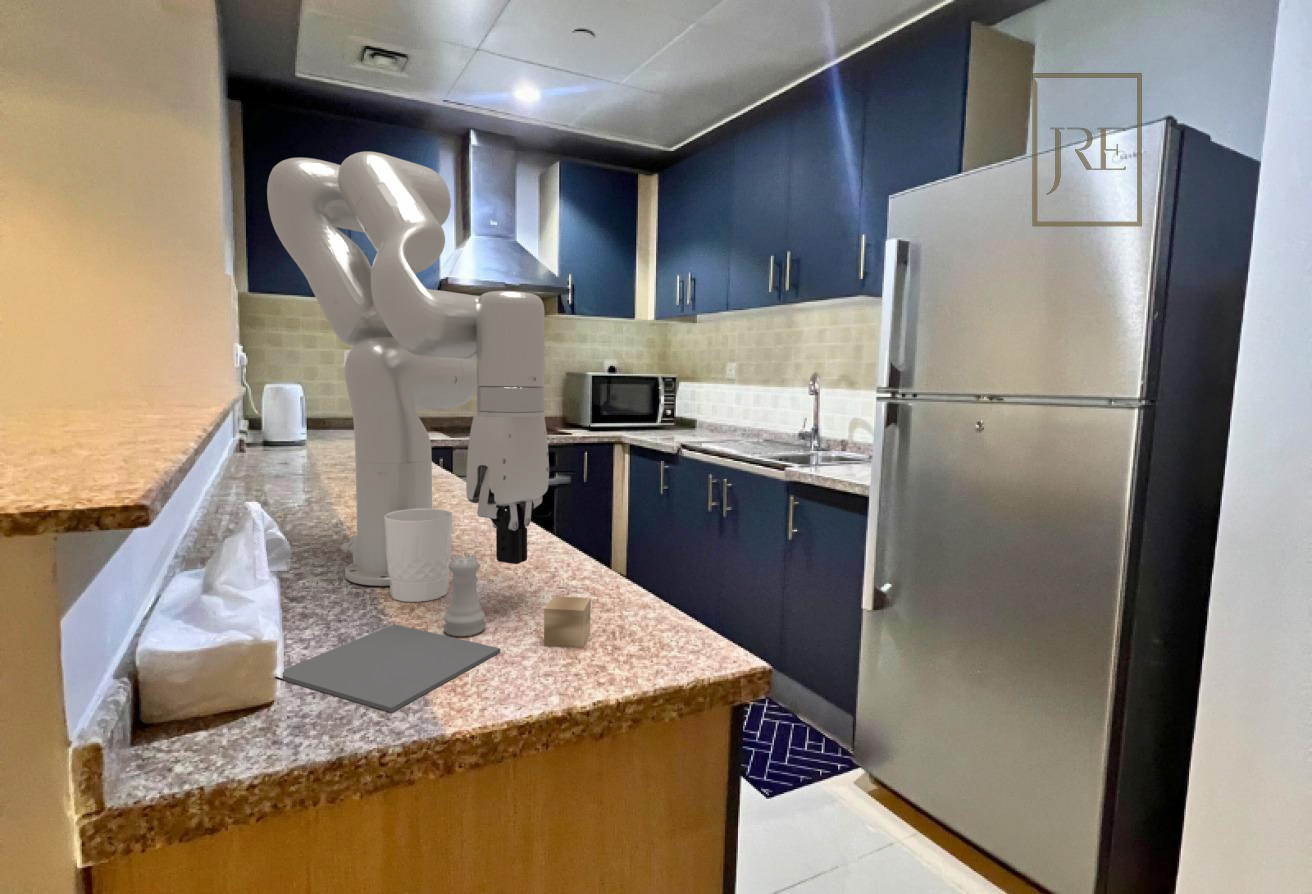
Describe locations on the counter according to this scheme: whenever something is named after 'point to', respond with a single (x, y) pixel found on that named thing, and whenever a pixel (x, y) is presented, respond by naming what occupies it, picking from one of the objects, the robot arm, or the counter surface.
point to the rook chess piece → (464, 599)
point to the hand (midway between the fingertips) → (511, 560)
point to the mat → (389, 666)
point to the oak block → (567, 622)
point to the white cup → (418, 553)
